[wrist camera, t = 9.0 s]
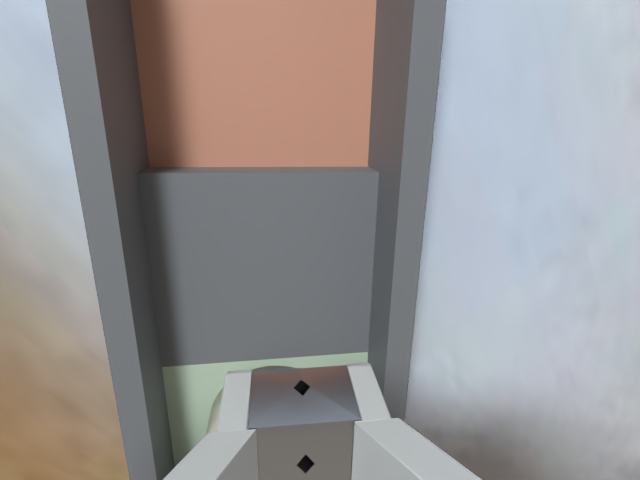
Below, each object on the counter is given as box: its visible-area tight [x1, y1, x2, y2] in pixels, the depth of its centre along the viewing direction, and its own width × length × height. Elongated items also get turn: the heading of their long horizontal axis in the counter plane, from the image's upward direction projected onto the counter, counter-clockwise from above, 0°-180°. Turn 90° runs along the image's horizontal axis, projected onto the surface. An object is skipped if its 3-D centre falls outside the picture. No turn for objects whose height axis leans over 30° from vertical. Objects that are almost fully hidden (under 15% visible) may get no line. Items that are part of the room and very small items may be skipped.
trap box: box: [45, 0, 447, 480], centre depth 19 cm, size 13×30×6 cm, turn 179°
